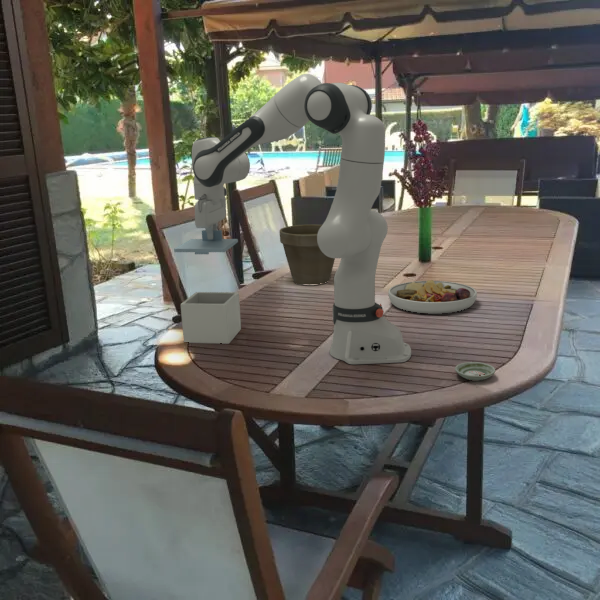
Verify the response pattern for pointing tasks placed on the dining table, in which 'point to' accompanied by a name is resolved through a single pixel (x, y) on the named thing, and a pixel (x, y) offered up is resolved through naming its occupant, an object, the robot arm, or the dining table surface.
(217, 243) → the lid
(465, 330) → the dining table surface
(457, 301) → the bowl
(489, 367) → the saucer
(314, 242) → the plant pot
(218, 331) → the tub
